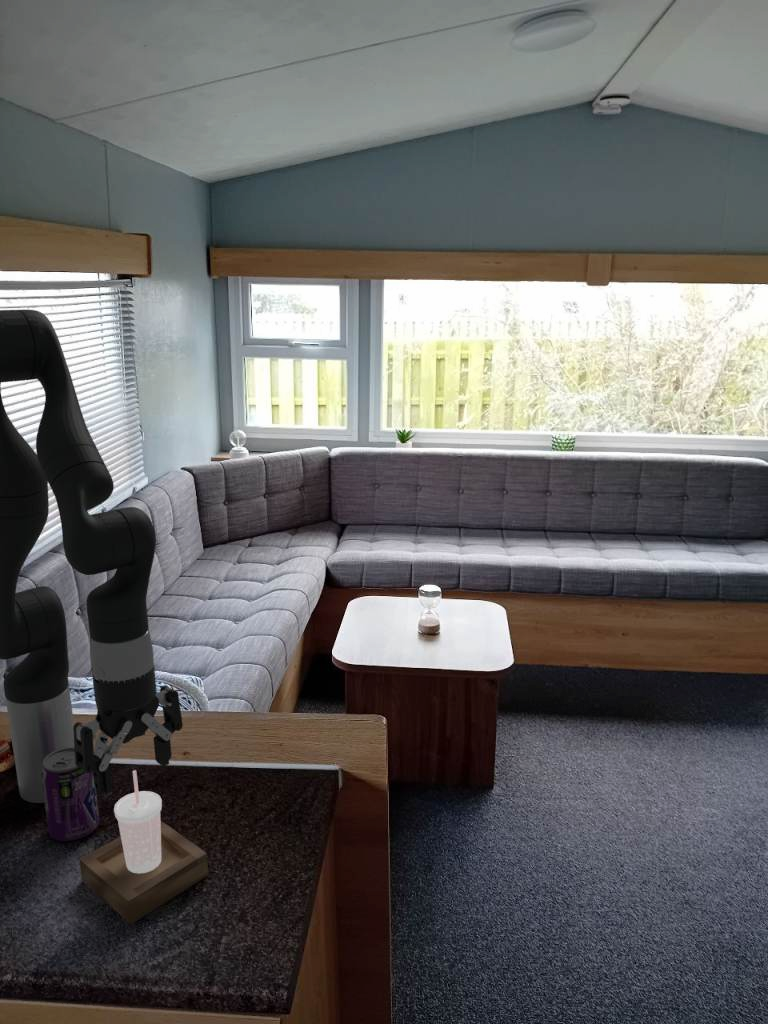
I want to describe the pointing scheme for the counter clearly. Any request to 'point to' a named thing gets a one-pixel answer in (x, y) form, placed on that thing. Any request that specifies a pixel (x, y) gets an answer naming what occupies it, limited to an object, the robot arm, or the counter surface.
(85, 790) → the beverage can
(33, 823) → the counter surface
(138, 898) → the base plinth
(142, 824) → the beverage cup
